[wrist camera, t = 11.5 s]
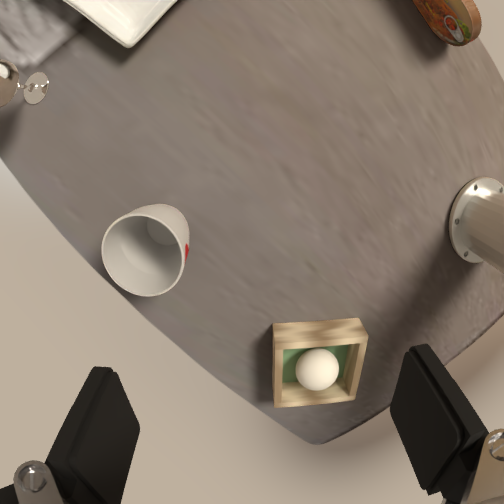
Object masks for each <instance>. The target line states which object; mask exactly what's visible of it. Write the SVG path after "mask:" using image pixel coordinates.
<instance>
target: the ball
mask: <svg viewBox="0 0 504 504" xmlns="http://www.w3.org/2000/svg"><path fill="white" fill-rule="evenodd" d="M295 370H296V377H297V379H298V381H299V382H300V384H301V385H302V386H304V387H305V388H307V389H309V390H314V391H319V390H323V389H326V388H328V387H329V386H331V385H332V384H333V383H334V382H335V380H336V378H337V376H338V372H339V365H338V361H337V359H336V357H335V356H334V355H333V354H332V353H331V352H330V351H328V350H326V349H322V348H314V349H310V350H308V351H306V352H305V353H303V354H302V355H301V356H300V358H299V359H298V361H297V364H296V369H295Z"/></svg>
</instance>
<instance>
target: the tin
mask: <svg viewBox="0 0 504 504" xmlns="http://www.w3.org/2000/svg"><path fill="white" fill-rule="evenodd" d="M412 1H413V2H414V4H415V5H416V7H417V8H418V10H419V11H420V13H421V14H422V16H423V17H424V19H425V21H426V22H427V24H428V25H429V27H430V28H431V29H432V31H433V32H434V33H435V34H436V35H437V36H438V37H439V38H440V39H442V40H443V41H445V42H446V43H448V44H450V45H453V46H464V45H466V44H467V43H469V42H471V41H473V40H475V39H476V38H477V37H478V36H479V34H480V31H481V17H480V13H479V11H478V9H477V7H476V5H475V3H474V1H473V0H412Z"/></svg>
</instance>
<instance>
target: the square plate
mask: <svg viewBox="0 0 504 504" xmlns="http://www.w3.org/2000/svg"><path fill="white" fill-rule="evenodd" d="M63 1H64V2H66V3H67V4H69V5H70V6H71V7H73V8H74V9H76V10H77V11H78V12H80V13H81V14H82V15H83V16H85V17H86V18H87V19H89V20H90V21H91V22H92V23H94V24H95V25H96V26H97V27H99V28H100V29H101V30H102V31H104V32H105V33H106V34H107V35H109V36H110V37H111V38H113V39H114V40H115V41H117V42H118V43H119V44H121V45H122V46H124V47H126V48H131V47H133V46H134V45H135V44H136V43H137V42H138V41H139V40H140V39H141V38H142V37H143V36H144V35H145V34H146V33H147V32H148V31H149V30H150V29H151V28H152V26H153V25H154V24H155V23H156V22H157V21H158V20H159V19H160V18H161V17H162V16H163V15H164V14H165V12H166V11H167V10H168V9H169V8H170V7H171V6H172V5H173V4H174V3H175V2H176V1H177V0H63Z"/></svg>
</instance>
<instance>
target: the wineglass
mask: <svg viewBox="0 0 504 504" xmlns="http://www.w3.org/2000/svg"><path fill="white" fill-rule="evenodd" d="M48 87H49V81H48V77H47V76H46V74H44V73H43V72H36V73H34V74H32V75H31V76H30V77H29V78H28V80H27V82H26V84H25V85H22V84H20V83H19V73H18V70H17V68H16V66H15V65H14V64H12V63H11V62H9V61H6V60H1V59H0V108H1V107H3V106H5V105H6V104H7V103H9V102H10V101H11V99H12V98H13V97H14V95H15V93H16V91H17V90H18V89H24V98H25V100H26V101H27V102H28V103H29V104H37V103H39V102H40V101H42V100H43V98H44V97H45V95H46V94H47V91H48Z"/></svg>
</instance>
